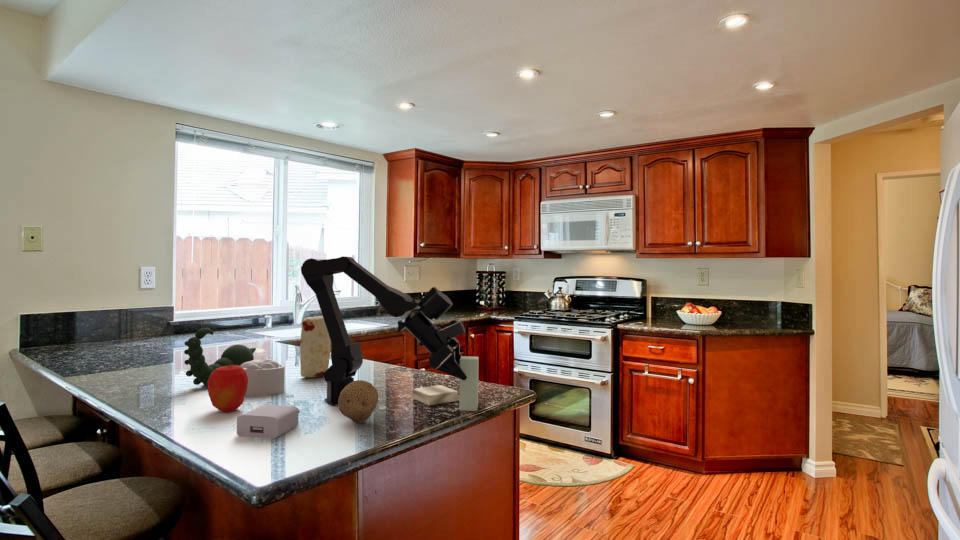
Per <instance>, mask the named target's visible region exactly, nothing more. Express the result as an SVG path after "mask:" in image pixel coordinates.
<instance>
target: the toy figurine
mask: <svg viewBox="0 0 960 540" xmlns="http://www.w3.org/2000/svg"><path fill="white" fill-rule="evenodd" d="M208 334H209V335H215V334H214V331H213V329H211V328H209V327H202V328H200V329H198V330H197V331H196V332H195V334H194V336H193V337H190V338H189V339H188V340H186V341H184V345H185V346H187V347H188V348H187V349H184V351H183V353H184V355H188V359H185V360H184V365H189V367H190V369H189V370H187V371H186V373H185V375H186V377H188V378H189V377H192V376H193V377H194V378H193V382H192V383H193V384H194V385H195V386H199V385H200V384H203V386H205V387H208V385H207V382H208V379H209V377H210V374H211V373H212V372H213V371H214V370H215V369H216V368H219V367H223V366H228V365H239V366H240V365H241V364H243V363H245V362H250V361H252V360H255V357H254V353H255V352H256V350H257V348H256V347H252V348H249V347H248V346H246V345H244V344H232V345H231V346H228V347H227V348H226V349H224V351H223V352H222V354H221V355H220V358H218V359H217V360H216V361H214V363H211V364H208V362H206V357H205V355H204V349H203V347H202V346H201V345H202V341H201V340H202V339H203V338H205V337H206V335H208ZM229 363H230V364H229Z"/></svg>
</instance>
